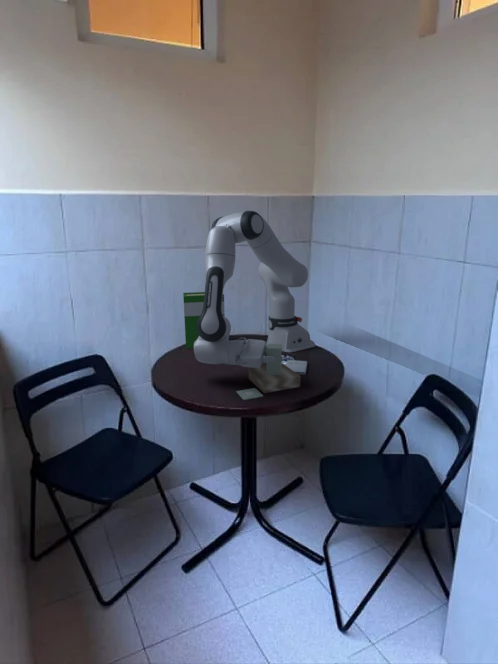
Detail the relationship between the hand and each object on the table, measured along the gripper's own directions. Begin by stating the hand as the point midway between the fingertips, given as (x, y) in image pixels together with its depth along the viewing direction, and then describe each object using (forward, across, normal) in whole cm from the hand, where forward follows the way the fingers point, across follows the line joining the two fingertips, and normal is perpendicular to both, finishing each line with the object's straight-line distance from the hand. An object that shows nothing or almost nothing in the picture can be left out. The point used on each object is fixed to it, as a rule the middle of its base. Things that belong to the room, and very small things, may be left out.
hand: (276, 354), depth 159 cm
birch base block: (-1, 0, +11) cm, 11 cm away
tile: (-8, -11, +11) cm, 18 cm away
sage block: (-1, 0, +7) cm, 7 cm away
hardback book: (-36, +40, +11) cm, 55 cm away
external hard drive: (+7, +15, +12) cm, 20 cm away
